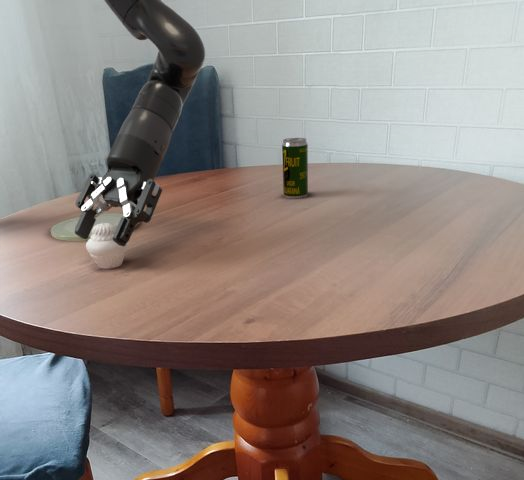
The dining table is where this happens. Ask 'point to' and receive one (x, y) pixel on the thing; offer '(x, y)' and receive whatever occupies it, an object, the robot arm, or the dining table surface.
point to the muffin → (105, 246)
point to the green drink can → (295, 167)
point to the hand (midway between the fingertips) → (98, 239)
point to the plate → (67, 227)
